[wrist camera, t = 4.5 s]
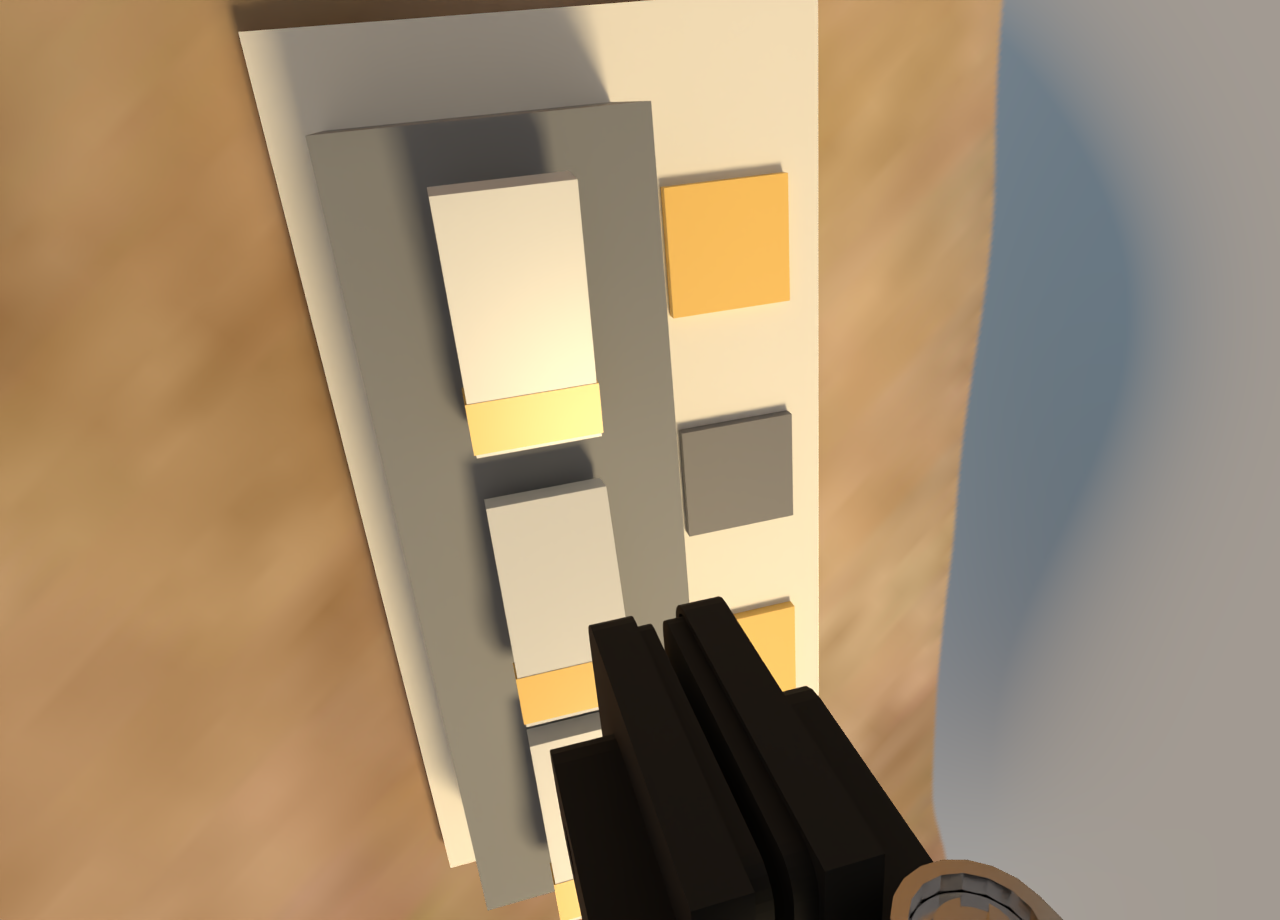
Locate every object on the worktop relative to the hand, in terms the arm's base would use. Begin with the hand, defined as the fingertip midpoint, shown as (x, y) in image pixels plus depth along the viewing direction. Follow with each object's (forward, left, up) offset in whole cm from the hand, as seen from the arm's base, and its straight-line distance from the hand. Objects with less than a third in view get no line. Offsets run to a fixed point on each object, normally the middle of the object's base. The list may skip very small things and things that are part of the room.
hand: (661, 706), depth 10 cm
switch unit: (+6, +2, -19) cm, 20 cm away
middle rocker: (+6, 0, -12) cm, 13 cm away
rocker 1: (-2, 0, -12) cm, 12 cm away
